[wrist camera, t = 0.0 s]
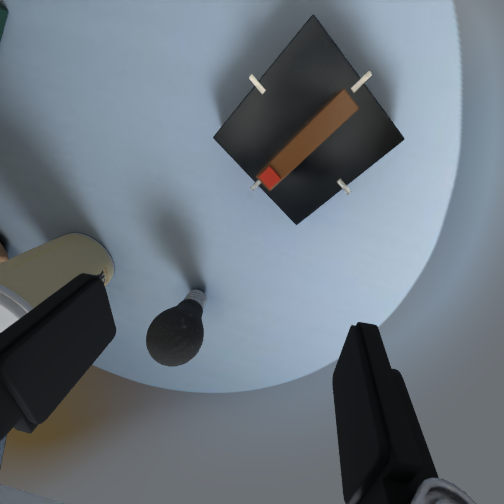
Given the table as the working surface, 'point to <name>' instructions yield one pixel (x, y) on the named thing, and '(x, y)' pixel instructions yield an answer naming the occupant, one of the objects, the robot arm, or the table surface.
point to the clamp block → (298, 113)
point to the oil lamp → (3, 254)
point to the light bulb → (177, 331)
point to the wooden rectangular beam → (308, 138)
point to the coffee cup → (48, 273)
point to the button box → (2, 18)
